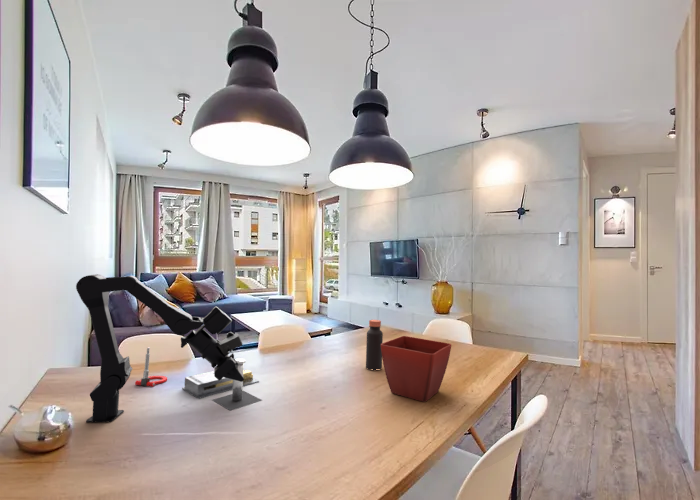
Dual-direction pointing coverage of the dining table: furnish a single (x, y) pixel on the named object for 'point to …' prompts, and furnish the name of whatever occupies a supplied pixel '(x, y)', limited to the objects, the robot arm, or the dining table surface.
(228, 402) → the rubber mat
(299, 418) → the dining table surface
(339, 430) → the dining table surface
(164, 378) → the tow hook
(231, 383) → the windowed slide housing
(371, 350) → the bottle
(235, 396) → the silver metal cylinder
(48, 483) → the dining table surface
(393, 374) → the plant pot
